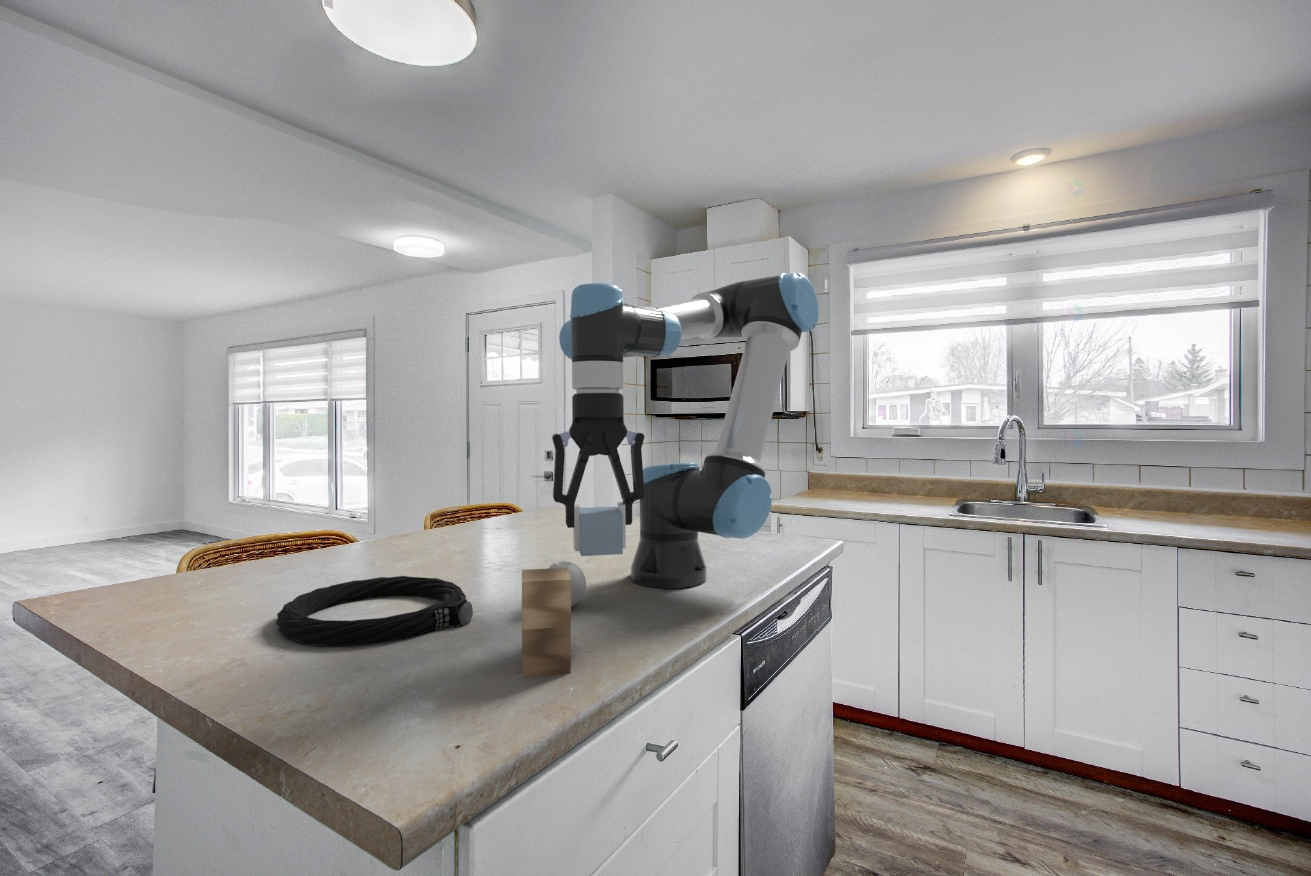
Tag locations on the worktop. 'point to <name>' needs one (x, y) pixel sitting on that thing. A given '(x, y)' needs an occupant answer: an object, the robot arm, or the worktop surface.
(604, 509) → the slate block
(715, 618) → the worktop surface
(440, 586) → the ring
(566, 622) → the tower upper block
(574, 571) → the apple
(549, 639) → the tower lower block
